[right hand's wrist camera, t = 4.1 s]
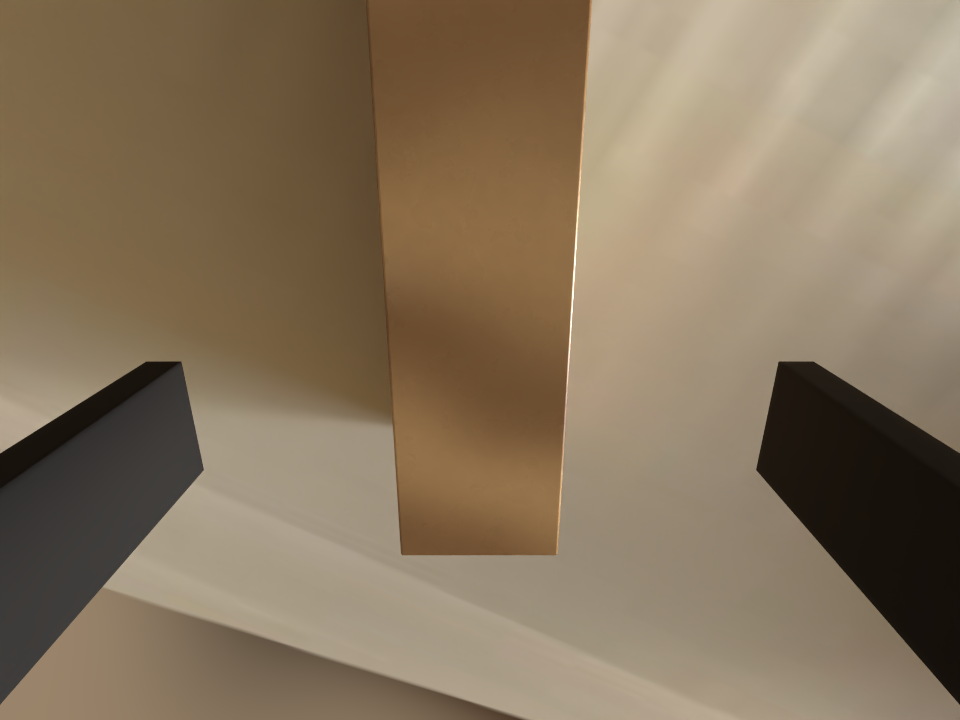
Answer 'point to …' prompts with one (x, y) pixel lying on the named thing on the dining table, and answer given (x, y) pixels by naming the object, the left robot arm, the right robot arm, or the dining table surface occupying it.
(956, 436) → the dining table surface
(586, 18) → the beam
